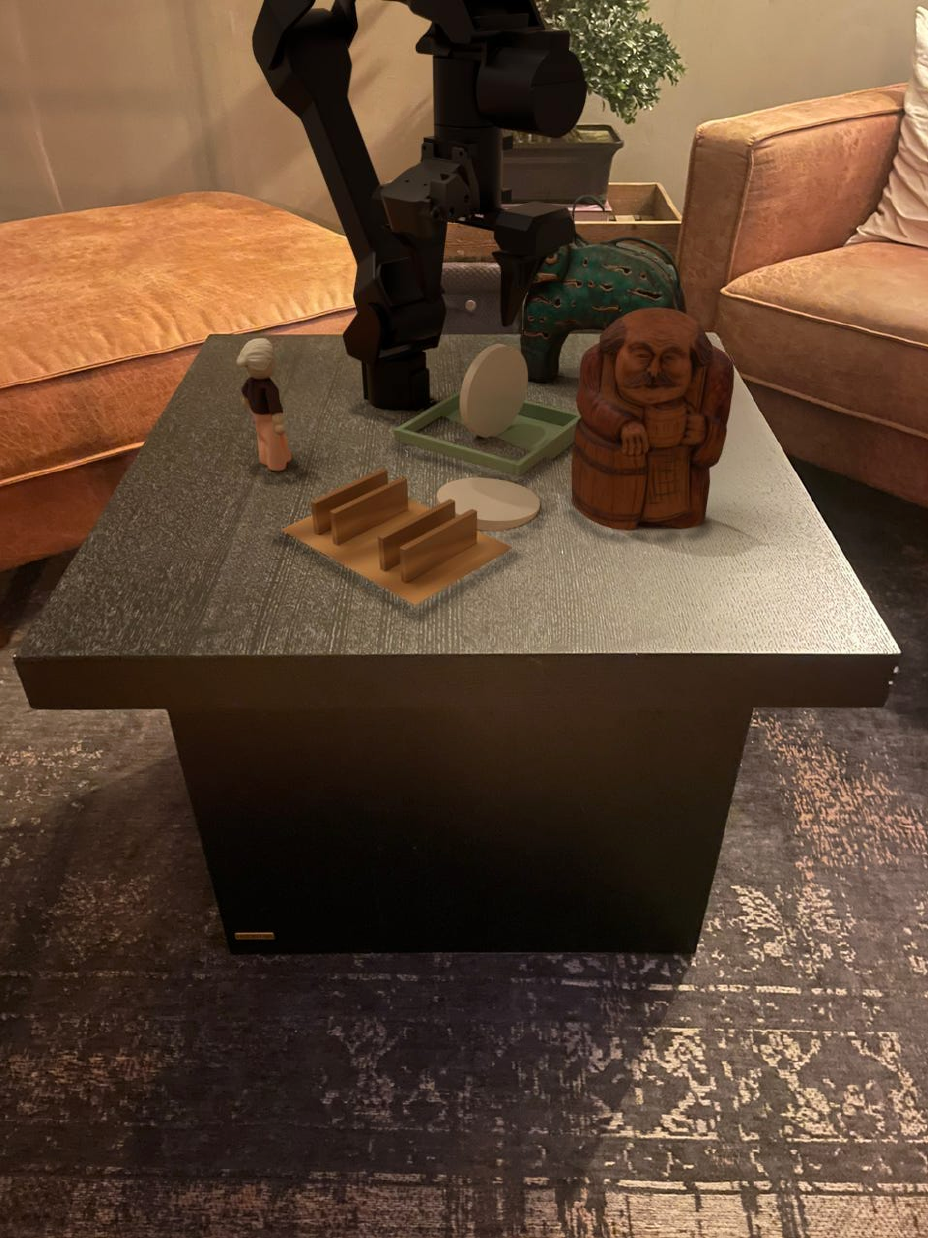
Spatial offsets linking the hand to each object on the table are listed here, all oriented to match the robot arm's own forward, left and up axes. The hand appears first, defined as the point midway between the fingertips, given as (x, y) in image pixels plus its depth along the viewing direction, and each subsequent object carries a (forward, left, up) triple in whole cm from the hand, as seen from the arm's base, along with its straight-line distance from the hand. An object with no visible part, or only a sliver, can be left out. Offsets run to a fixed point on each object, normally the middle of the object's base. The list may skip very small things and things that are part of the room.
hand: (468, 314), depth 84 cm
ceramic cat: (+4, +20, -13) cm, 24 cm away
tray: (+2, +2, -13) cm, 13 cm away
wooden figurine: (+21, -5, -13) cm, 25 cm away
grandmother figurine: (-12, -15, -13) cm, 23 cm away
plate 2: (+10, -15, -11) cm, 21 cm away
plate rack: (+6, -20, -13) cm, 24 cm away
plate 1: (+2, +2, -12) cm, 13 cm away
